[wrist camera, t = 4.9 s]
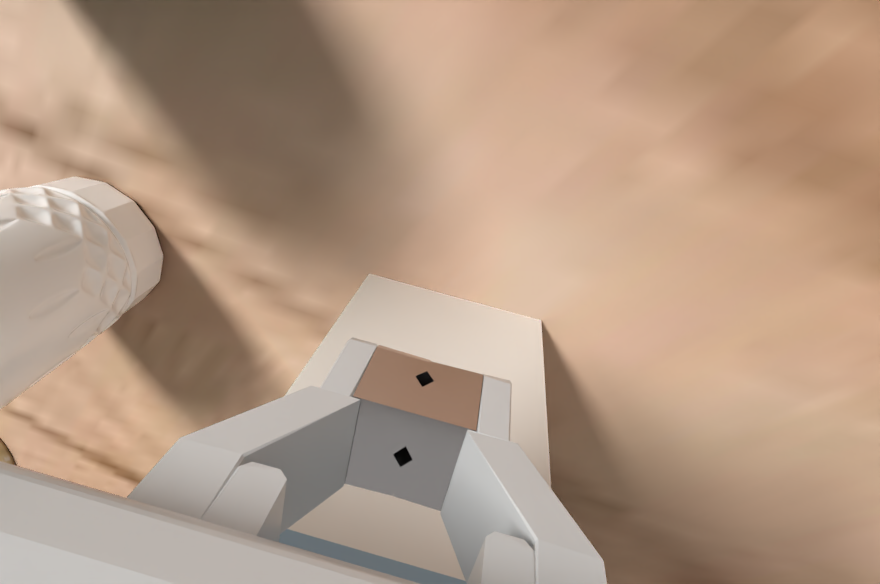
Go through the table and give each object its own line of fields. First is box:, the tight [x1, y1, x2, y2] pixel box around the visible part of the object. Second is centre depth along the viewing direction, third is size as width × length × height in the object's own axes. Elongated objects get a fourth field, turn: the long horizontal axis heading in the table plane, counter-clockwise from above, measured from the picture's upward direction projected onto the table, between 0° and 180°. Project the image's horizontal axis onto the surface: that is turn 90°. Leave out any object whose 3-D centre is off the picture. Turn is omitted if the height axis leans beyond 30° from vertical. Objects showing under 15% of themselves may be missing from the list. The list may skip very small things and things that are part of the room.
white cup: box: [0, 177, 163, 410], centre depth 22 cm, size 8×8×10 cm
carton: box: [279, 273, 551, 584], centre depth 18 cm, size 9×9×18 cm
